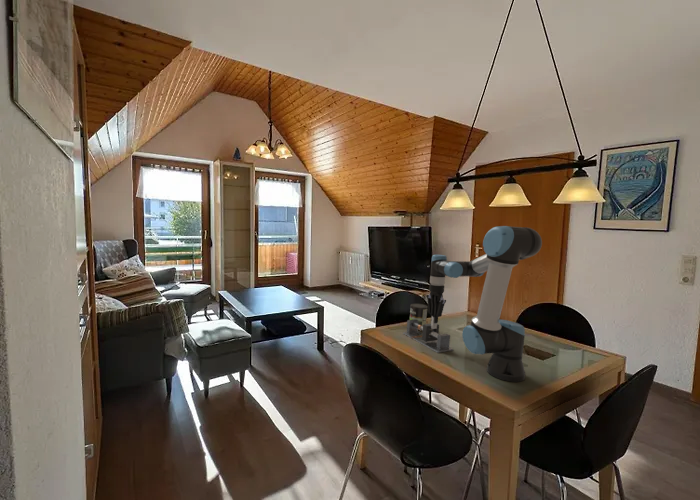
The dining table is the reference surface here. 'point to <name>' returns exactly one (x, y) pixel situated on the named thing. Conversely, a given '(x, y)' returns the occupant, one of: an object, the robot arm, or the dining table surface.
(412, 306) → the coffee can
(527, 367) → the dining table surface
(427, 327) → the collar
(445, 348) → the rail
